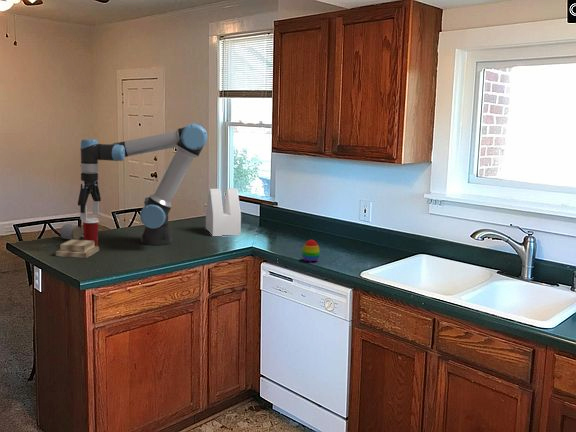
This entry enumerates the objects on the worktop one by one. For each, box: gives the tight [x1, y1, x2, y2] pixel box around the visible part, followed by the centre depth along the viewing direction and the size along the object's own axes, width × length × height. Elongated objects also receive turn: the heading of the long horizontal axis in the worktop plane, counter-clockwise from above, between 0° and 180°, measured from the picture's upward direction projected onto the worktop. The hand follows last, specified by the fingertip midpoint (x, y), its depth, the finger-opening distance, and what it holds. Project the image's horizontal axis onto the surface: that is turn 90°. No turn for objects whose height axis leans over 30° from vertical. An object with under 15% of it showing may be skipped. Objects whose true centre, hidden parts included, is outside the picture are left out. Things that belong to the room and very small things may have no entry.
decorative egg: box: [301, 239, 321, 262], centre depth 259 cm, size 8×8×10 cm
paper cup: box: [81, 217, 100, 246], centre depth 266 cm, size 8×8×14 cm
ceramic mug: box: [59, 223, 84, 241], centre depth 283 cm, size 11×8×8 cm
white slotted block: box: [205, 187, 242, 237], centre depth 312 cm, size 19×15×25 cm
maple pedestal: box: [55, 239, 100, 259], centre depth 255 cm, size 14×14×5 cm
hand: (89, 217), depth 265 cm, fingers open, 13 cm apart
